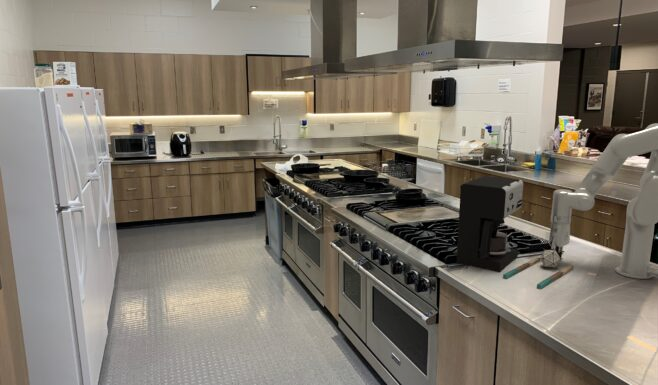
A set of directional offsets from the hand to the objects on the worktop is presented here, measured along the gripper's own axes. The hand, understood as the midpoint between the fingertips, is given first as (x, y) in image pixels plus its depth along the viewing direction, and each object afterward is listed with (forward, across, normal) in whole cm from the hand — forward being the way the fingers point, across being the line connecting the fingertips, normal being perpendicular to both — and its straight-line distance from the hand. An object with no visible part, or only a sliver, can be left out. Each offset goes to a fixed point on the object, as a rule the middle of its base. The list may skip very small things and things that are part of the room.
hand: (556, 260), depth 206 cm
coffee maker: (+2, -19, +22) cm, 29 cm away
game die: (+2, -7, 0) cm, 7 cm away
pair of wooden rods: (+1, -17, 0) cm, 17 cm away
